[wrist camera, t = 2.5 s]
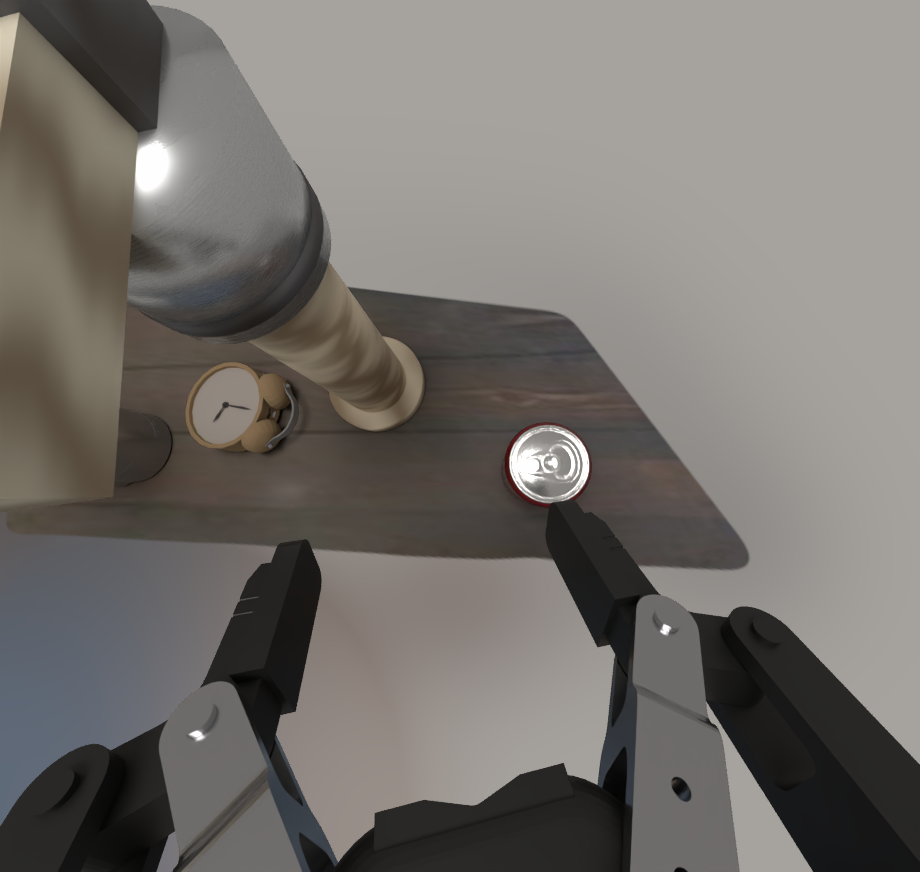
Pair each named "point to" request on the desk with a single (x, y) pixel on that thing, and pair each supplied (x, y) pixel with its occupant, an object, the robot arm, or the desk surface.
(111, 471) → the plug rod
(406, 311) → the desk surface
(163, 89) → the beige tall cylinder
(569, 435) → the soda can
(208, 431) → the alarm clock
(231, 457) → the desk surface
